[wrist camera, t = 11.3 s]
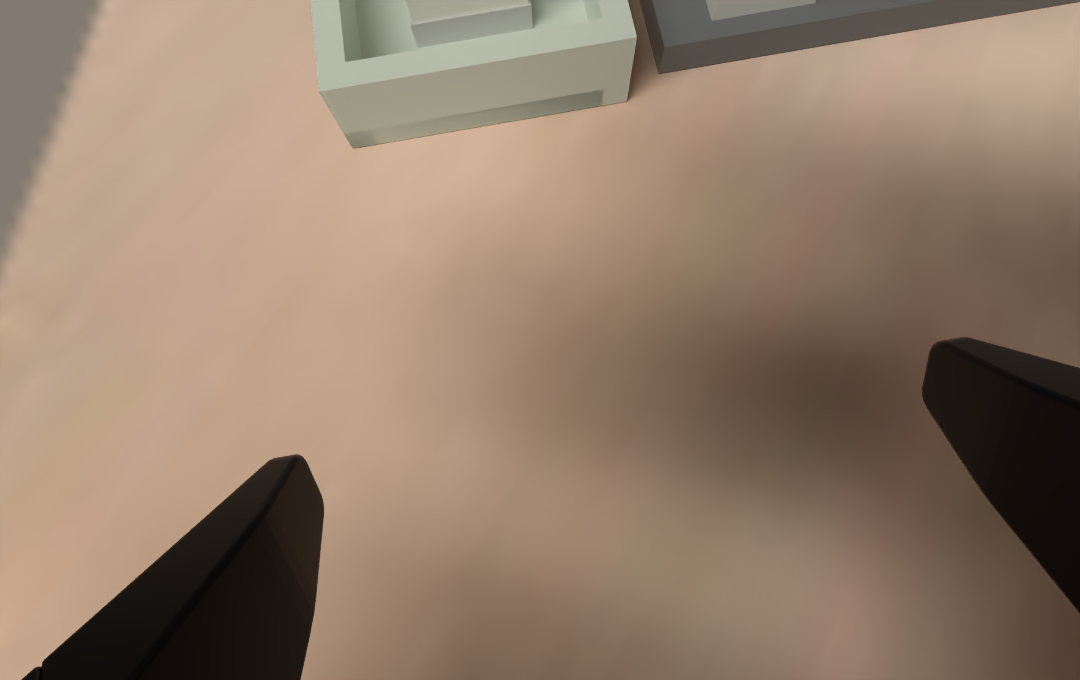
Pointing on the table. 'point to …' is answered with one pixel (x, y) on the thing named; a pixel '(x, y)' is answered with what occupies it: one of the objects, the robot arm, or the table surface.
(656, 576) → the table surface
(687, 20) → the holder
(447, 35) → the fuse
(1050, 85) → the table surface
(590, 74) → the tray
